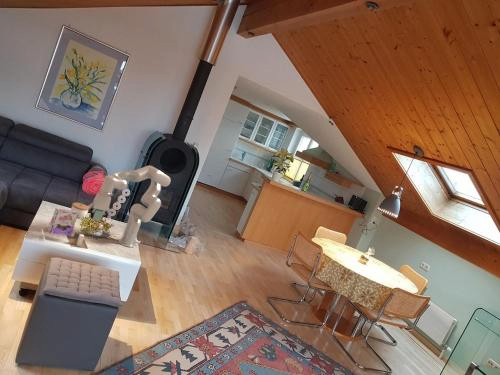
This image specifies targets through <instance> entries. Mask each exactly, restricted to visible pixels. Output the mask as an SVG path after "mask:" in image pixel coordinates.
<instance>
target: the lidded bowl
mask: <svg viewBox="0 0 500 375" xmlns="http://www.w3.org/2000/svg"><path fill="white" fill-rule="evenodd" d="M70 210H71V211H76V212H77V214H78V216H77V219H83V218H84V217H85V216H86V215H87V214H88V212H89V210H90V208H89V207H88V205H86V204H84V203H83V202H82V203H81V202H72V205H71V208H70Z"/></svg>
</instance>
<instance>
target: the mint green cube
mask: <svg viewBox="0 0 500 375" xmlns="http://www.w3.org/2000/svg"><path fill="white" fill-rule="evenodd" d="M103 213H104V212H103V211H102V210H98V209H96V210H95V211H94V216H93V218H91V220H92V221H95V222H101V221H102V219H103V218H102V216H103ZM103 217H104V216H103ZM101 218H102V219H101Z"/></svg>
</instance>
